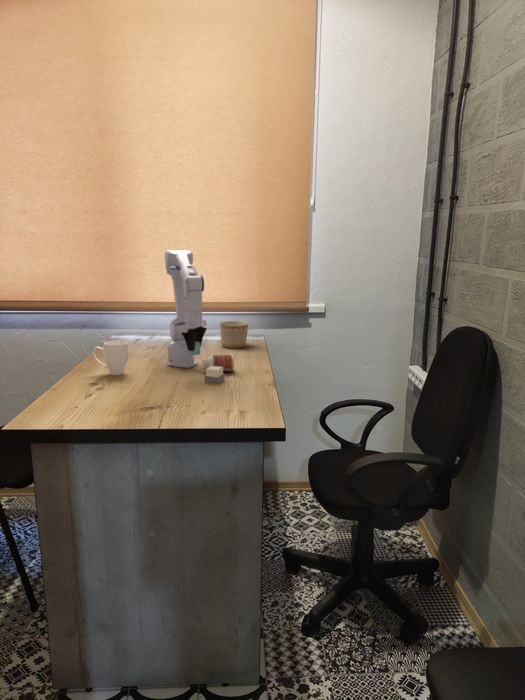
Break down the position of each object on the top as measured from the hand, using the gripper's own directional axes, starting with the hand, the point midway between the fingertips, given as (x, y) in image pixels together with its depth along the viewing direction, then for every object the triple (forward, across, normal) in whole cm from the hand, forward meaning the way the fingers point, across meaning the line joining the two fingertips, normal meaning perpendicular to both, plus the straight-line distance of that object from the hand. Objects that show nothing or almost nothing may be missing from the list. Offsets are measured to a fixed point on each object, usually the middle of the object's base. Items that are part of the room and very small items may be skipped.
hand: (194, 349), depth 176 cm
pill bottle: (+7, +12, -10) cm, 17 cm away
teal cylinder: (+2, 0, 0) cm, 2 cm away
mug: (+10, -10, +28) cm, 31 cm away
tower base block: (+10, -2, -9) cm, 14 cm away
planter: (+10, +50, +8) cm, 52 cm away
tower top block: (+8, -2, -9) cm, 12 cm away
